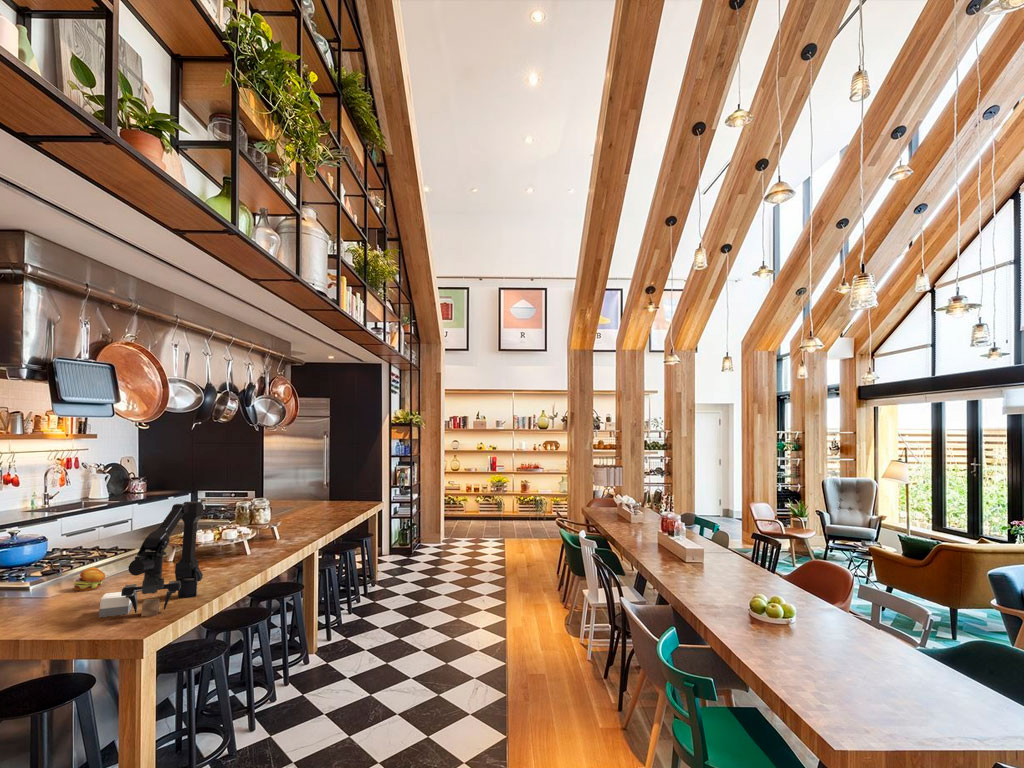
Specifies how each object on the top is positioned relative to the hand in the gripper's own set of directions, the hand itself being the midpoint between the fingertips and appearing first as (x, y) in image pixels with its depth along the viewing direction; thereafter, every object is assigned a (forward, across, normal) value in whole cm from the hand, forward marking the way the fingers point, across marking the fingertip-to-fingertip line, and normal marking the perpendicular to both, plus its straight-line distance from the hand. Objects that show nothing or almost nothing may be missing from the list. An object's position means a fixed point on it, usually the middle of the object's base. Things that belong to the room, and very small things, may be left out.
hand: (150, 611), depth 209 cm
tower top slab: (-2, -12, +7) cm, 14 cm away
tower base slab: (+2, -12, +7) cm, 14 cm away
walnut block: (+1, 0, 0) cm, 1 cm away
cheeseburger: (+1, -29, +52) cm, 60 cm away
